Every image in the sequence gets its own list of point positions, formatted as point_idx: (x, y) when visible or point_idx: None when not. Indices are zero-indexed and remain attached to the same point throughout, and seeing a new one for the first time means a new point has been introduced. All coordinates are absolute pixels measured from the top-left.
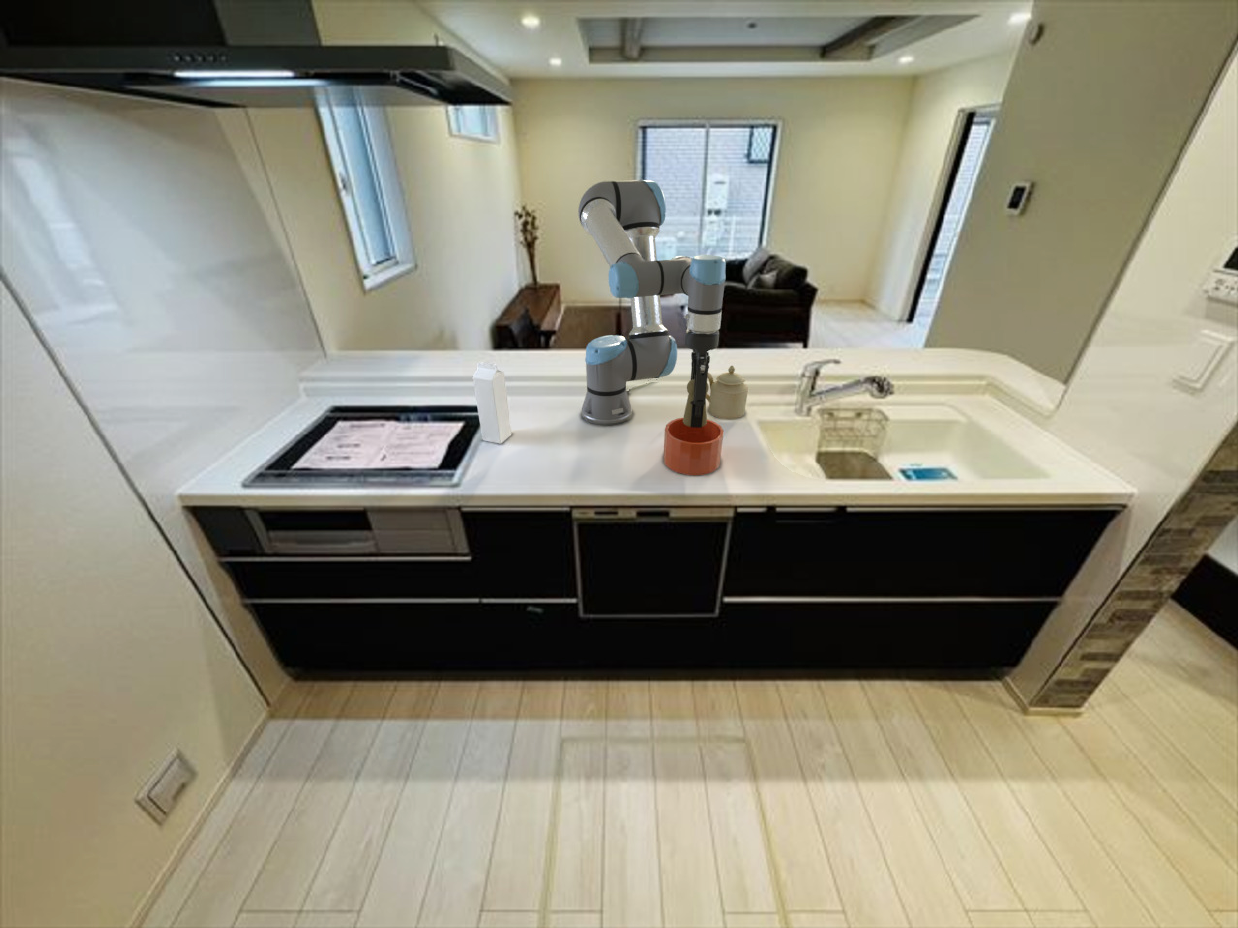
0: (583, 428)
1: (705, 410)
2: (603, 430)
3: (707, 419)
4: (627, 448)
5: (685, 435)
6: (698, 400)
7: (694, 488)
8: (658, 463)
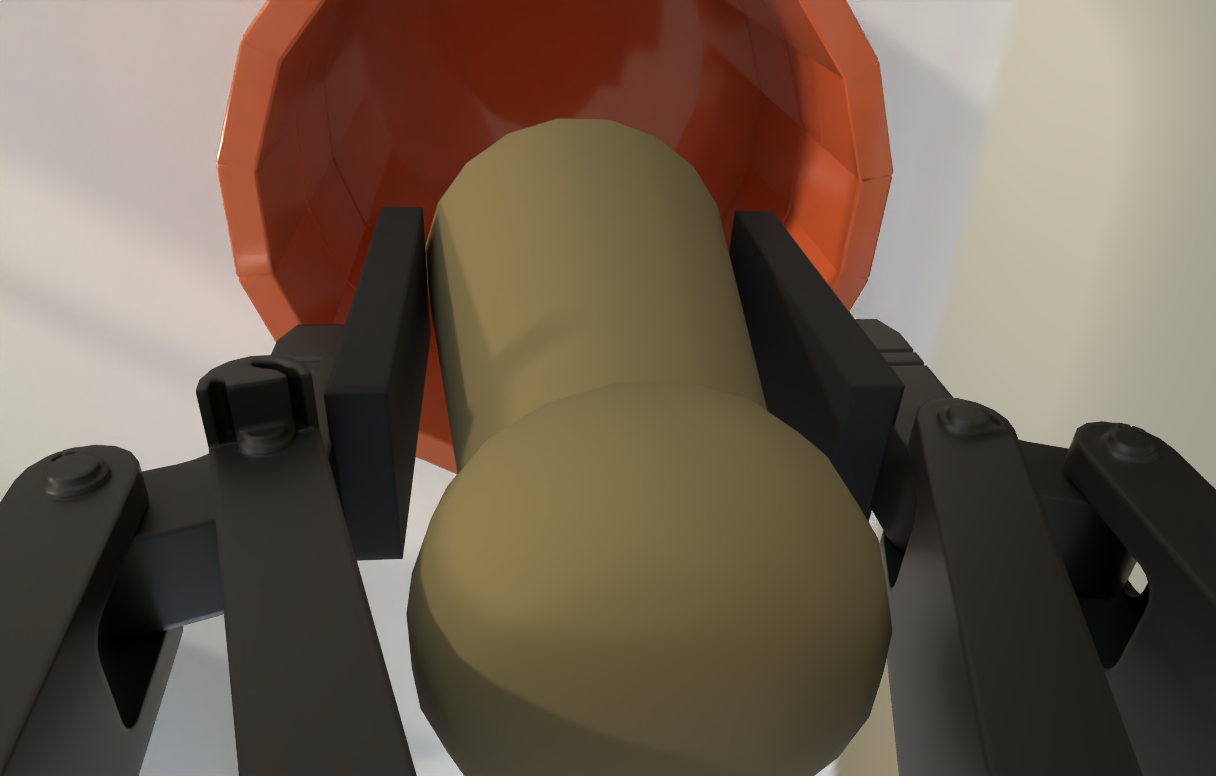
0: (181, 764)
1: (680, 235)
2: (177, 677)
3: (260, 28)
4: None
5: (320, 206)
6: (1125, 572)
7: (942, 134)
8: None
